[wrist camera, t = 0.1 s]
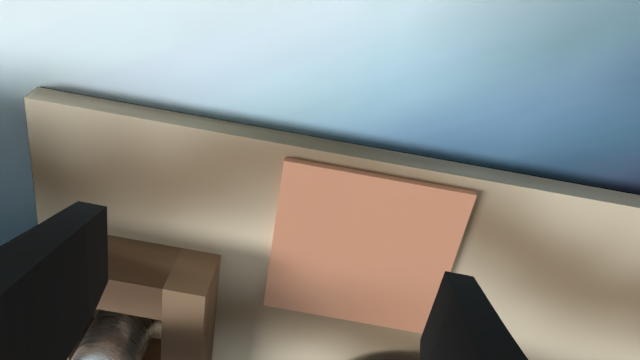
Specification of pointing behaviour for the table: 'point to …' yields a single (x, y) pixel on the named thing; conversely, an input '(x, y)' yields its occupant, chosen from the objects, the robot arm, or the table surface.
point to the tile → (363, 244)
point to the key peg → (116, 337)
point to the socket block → (164, 295)
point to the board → (274, 145)
